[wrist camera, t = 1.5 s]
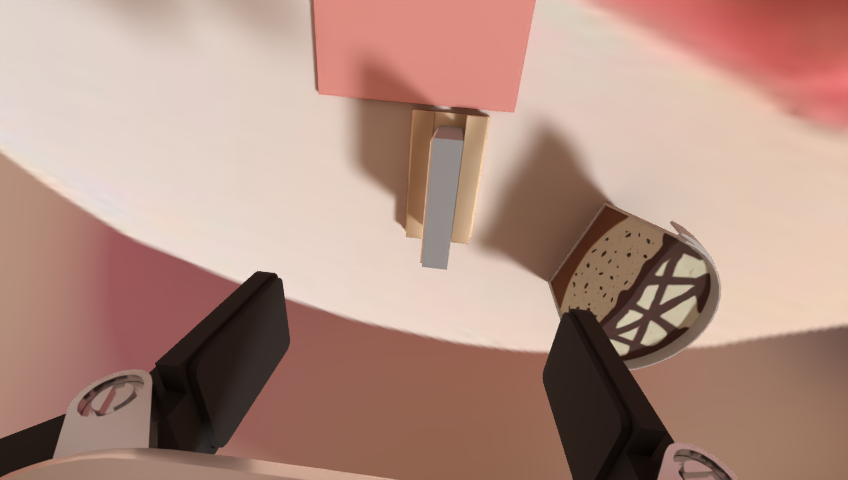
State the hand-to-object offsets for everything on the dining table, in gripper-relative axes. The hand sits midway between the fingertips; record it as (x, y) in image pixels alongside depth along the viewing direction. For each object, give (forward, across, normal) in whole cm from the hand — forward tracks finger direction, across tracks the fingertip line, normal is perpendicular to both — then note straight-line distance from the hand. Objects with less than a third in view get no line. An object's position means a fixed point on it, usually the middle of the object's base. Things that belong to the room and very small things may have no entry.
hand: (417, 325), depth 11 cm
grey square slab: (+20, 0, 0) cm, 20 cm away
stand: (+20, 0, 0) cm, 20 cm away
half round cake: (+20, -16, +6) cm, 26 cm away
